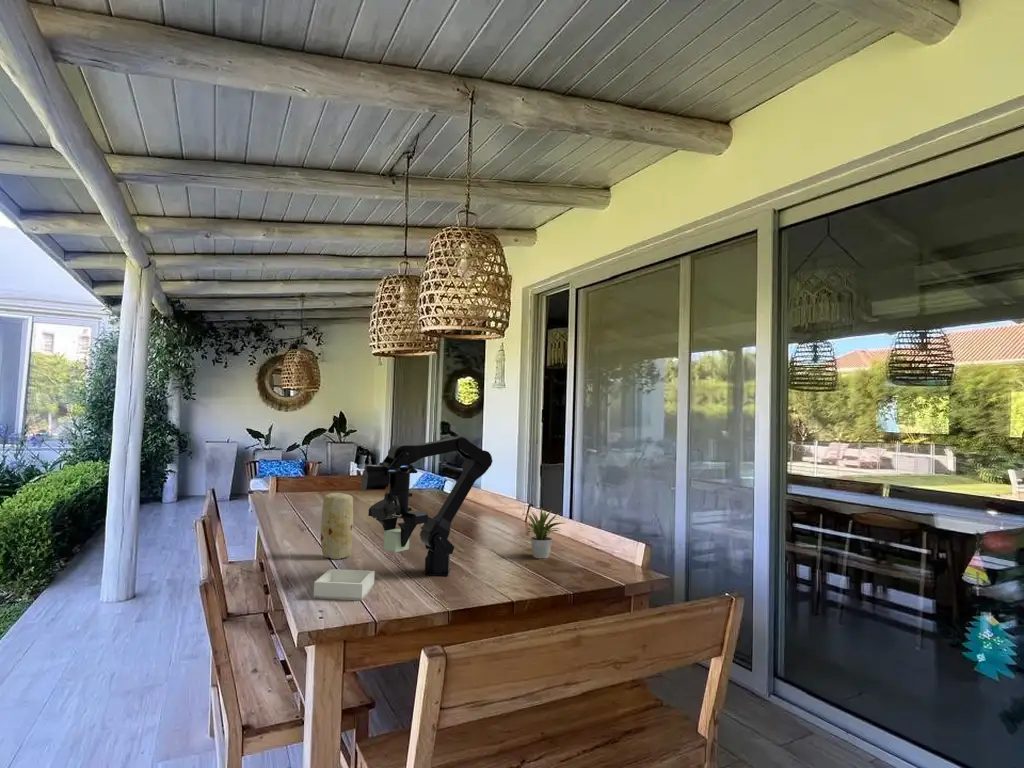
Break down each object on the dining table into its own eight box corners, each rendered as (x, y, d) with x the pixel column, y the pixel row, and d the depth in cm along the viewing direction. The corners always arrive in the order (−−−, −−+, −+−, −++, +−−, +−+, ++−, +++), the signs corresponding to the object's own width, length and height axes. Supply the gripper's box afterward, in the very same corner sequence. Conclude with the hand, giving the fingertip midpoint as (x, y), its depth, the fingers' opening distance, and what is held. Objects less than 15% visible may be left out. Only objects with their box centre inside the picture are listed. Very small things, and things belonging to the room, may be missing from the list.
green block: (396, 546, 171) (397, 528, 171) (408, 549, 168) (409, 531, 168) (383, 548, 167) (384, 530, 167) (395, 552, 164) (396, 533, 164)
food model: (352, 555, 191) (355, 492, 192) (350, 560, 184) (353, 495, 185) (320, 555, 189) (324, 491, 190) (317, 560, 183) (320, 494, 184)
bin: (373, 586, 159) (374, 570, 160) (361, 600, 147) (362, 584, 148) (329, 584, 160) (330, 569, 160) (313, 598, 148) (314, 582, 148)
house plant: (537, 566, 186) (538, 513, 186) (508, 556, 196) (510, 506, 197) (569, 560, 195) (571, 509, 195) (541, 551, 205) (542, 503, 206)
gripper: (354, 488, 167) (351, 544, 167) (400, 495, 156) (398, 556, 156) (384, 484, 176) (382, 538, 176) (430, 492, 165) (428, 549, 165)
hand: (396, 545), depth 168 cm, fingers closed on green block, 5 cm apart
